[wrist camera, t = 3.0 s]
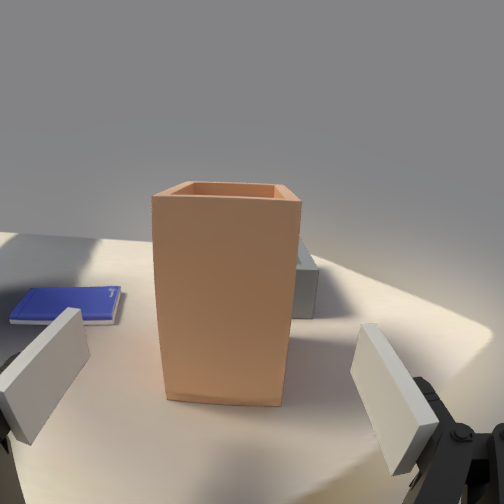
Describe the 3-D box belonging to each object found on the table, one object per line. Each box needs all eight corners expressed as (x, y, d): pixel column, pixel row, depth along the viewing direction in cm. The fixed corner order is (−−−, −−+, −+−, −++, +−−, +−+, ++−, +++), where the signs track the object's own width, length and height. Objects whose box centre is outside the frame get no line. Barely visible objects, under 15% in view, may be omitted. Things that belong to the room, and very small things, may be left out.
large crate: (171, 312, 34) (169, 263, 32) (196, 262, 50) (196, 227, 48) (312, 318, 34) (318, 270, 32) (293, 266, 50) (296, 231, 49)
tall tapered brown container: (166, 399, 21) (151, 196, 17) (189, 330, 30) (186, 181, 26) (280, 406, 21) (301, 201, 17) (272, 334, 31) (283, 184, 27)
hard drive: (120, 284, 37) (31, 286, 34) (112, 315, 30) (8, 315, 27) (121, 296, 38) (33, 297, 35) (114, 329, 30) (11, 328, 27)
